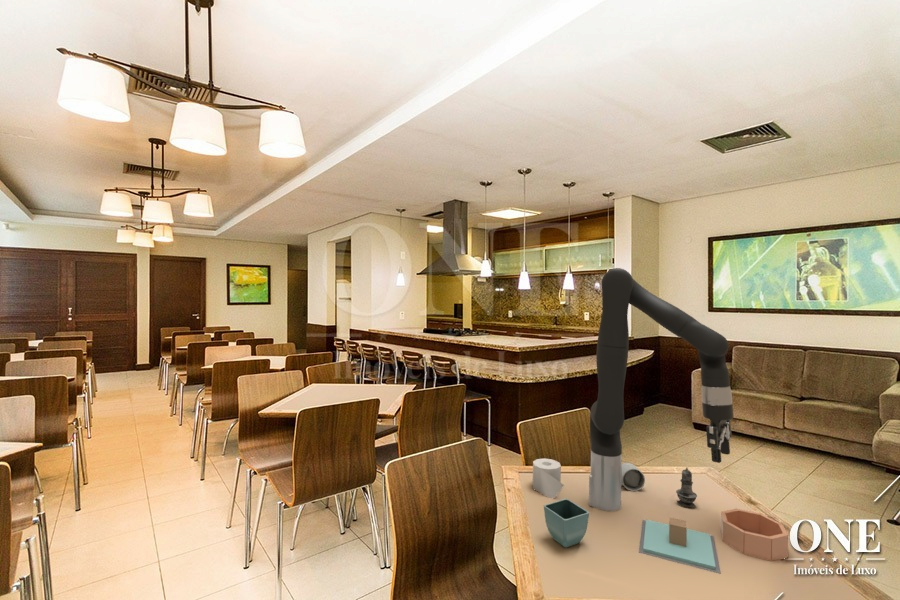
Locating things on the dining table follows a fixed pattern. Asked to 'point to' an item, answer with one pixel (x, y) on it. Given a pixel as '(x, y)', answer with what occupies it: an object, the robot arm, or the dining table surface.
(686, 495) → the dark grey chess piece
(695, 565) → the mat
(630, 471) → the ceramic mug
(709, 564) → the lid
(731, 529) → the bowl
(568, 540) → the flower pot
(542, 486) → the toilet tissue
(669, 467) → the dining table surface
